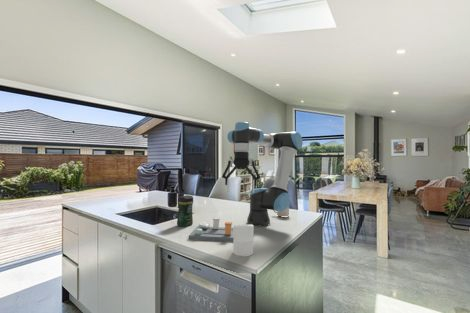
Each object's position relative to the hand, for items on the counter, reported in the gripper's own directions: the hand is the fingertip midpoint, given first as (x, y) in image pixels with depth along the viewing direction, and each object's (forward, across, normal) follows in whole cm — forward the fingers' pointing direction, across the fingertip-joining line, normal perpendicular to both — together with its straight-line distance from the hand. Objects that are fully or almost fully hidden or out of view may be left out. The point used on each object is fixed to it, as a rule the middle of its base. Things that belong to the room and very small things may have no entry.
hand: (240, 192), depth 125 cm
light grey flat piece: (+21, +21, -9) cm, 31 cm away
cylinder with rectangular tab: (+25, -3, +18) cm, 31 cm away
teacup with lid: (+25, -26, -58) cm, 68 cm away
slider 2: (+22, +6, 0) cm, 23 cm away
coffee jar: (+25, +36, -21) cm, 49 cm away
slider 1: (+22, +14, -9) cm, 28 cm away
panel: (+25, +14, -4) cm, 29 cm away
